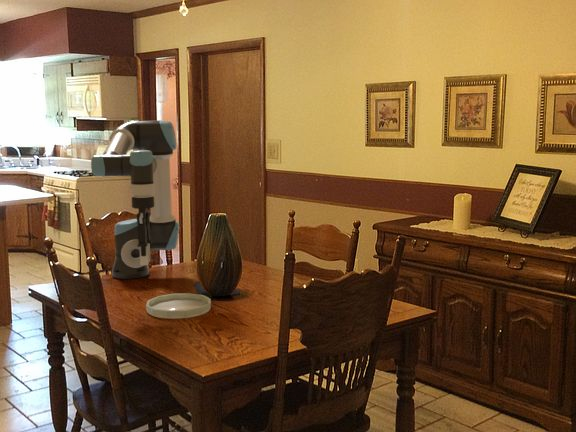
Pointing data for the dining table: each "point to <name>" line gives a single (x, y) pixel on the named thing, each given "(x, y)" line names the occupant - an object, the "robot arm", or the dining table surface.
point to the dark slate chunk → (202, 291)
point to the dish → (178, 306)
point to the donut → (127, 254)
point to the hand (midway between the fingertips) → (145, 263)
